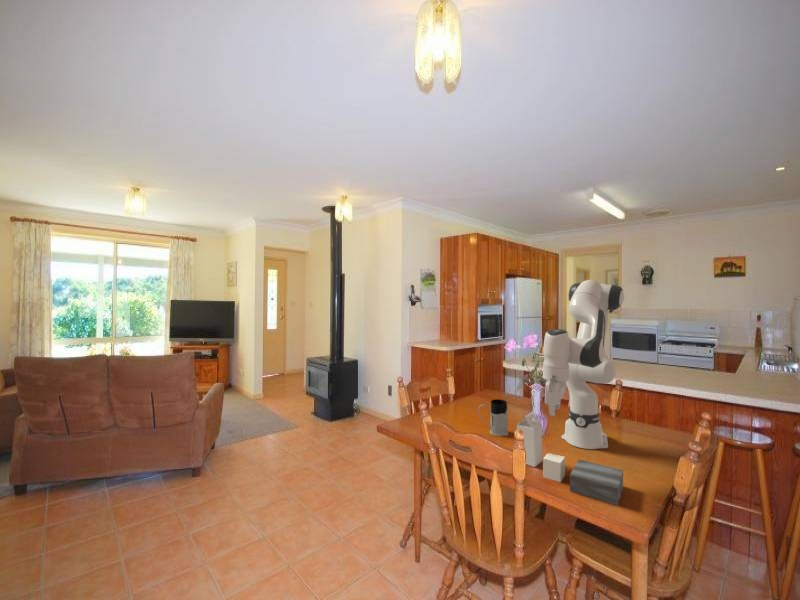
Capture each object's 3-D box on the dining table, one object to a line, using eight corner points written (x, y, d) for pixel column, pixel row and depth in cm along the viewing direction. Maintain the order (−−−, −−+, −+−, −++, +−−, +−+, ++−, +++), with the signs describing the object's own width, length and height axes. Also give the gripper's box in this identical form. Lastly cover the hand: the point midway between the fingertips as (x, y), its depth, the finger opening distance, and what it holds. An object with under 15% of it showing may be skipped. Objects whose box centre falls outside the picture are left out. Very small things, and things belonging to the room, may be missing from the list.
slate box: (578, 475, 133) (578, 459, 133) (623, 487, 125) (623, 470, 125) (570, 492, 122) (569, 474, 122) (617, 506, 114) (617, 488, 114)
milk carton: (517, 461, 144) (516, 414, 143) (525, 455, 149) (525, 410, 148) (534, 467, 139) (533, 418, 138) (542, 461, 144) (541, 414, 143)
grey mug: (511, 436, 169) (510, 404, 169) (480, 436, 169) (480, 405, 169) (505, 428, 178) (505, 398, 178) (476, 429, 178) (476, 399, 178)
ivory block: (548, 470, 137) (548, 452, 136) (565, 475, 133) (564, 456, 133) (543, 477, 132) (543, 458, 132) (560, 482, 128) (560, 463, 128)
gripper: (560, 380, 121) (559, 421, 121) (569, 370, 138) (568, 406, 138) (540, 377, 125) (539, 417, 125) (551, 368, 142) (550, 403, 142)
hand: (554, 411), depth 132 cm, fingers open, 8 cm apart
